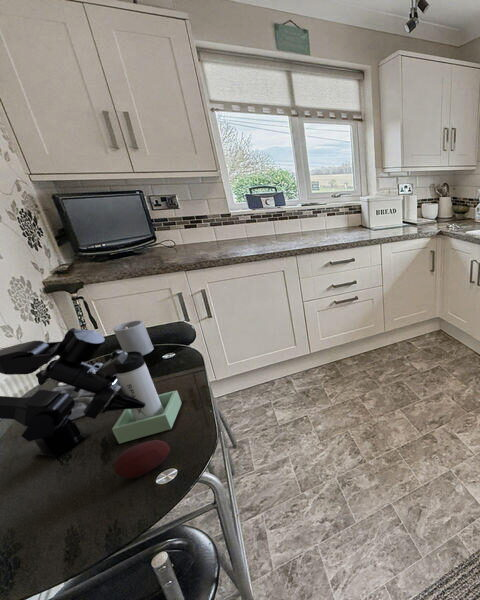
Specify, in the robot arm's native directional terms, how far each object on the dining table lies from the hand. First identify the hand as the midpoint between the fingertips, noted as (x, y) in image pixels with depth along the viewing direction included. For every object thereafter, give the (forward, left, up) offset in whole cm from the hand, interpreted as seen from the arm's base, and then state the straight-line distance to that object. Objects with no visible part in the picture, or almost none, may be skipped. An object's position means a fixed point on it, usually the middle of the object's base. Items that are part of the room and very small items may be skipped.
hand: (148, 398), depth 87 cm
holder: (-1, +1, -7) cm, 7 cm away
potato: (-15, -12, -7) cm, 20 cm away
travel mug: (-1, +1, -7) cm, 7 cm away
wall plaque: (+8, +34, -7) cm, 36 cm away
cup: (+35, +44, -7) cm, 57 cm away
